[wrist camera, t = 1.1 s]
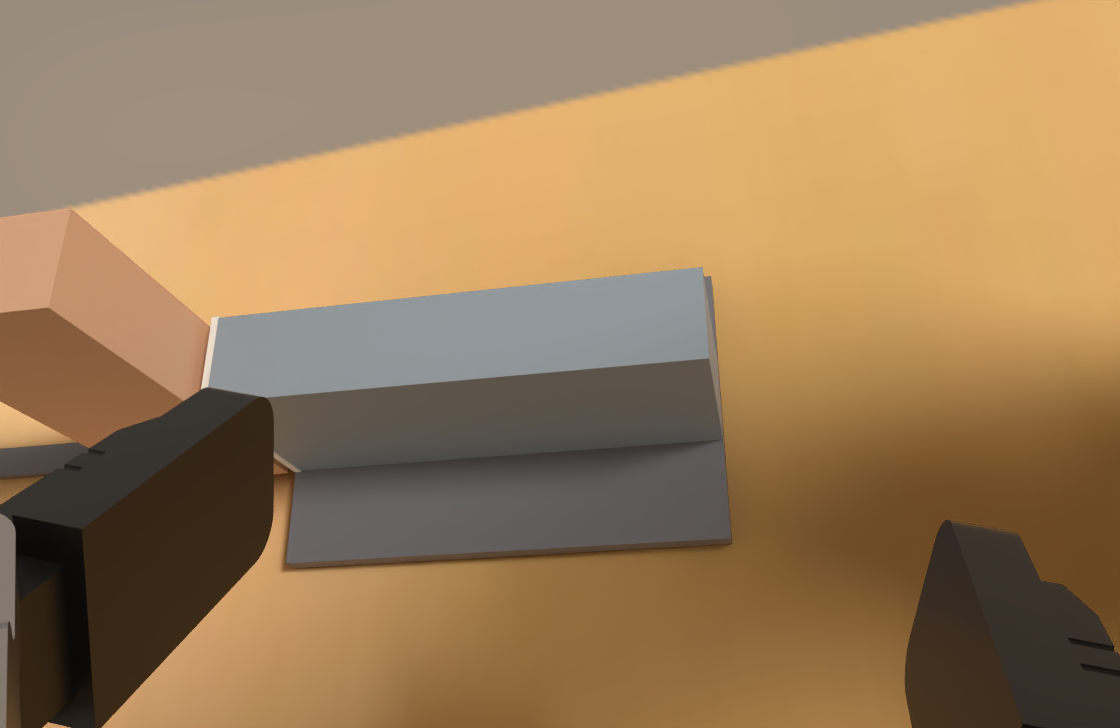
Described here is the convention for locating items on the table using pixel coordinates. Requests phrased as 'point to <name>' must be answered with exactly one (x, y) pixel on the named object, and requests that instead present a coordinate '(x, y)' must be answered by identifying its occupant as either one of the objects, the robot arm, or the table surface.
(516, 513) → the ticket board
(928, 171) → the table surface
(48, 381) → the stub
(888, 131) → the table surface
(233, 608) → the table surface
